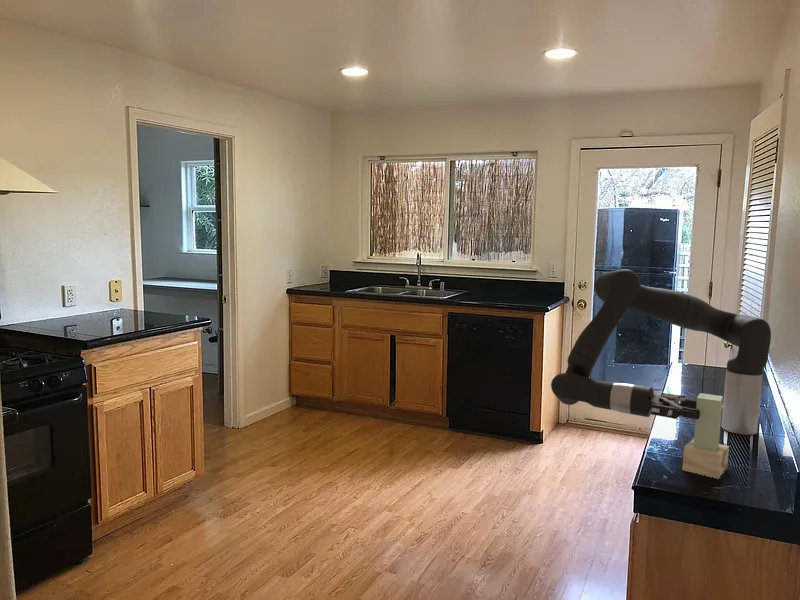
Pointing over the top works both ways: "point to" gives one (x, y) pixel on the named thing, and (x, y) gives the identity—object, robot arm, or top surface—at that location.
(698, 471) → the birch base block
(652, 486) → the top surface
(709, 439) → the sage block
